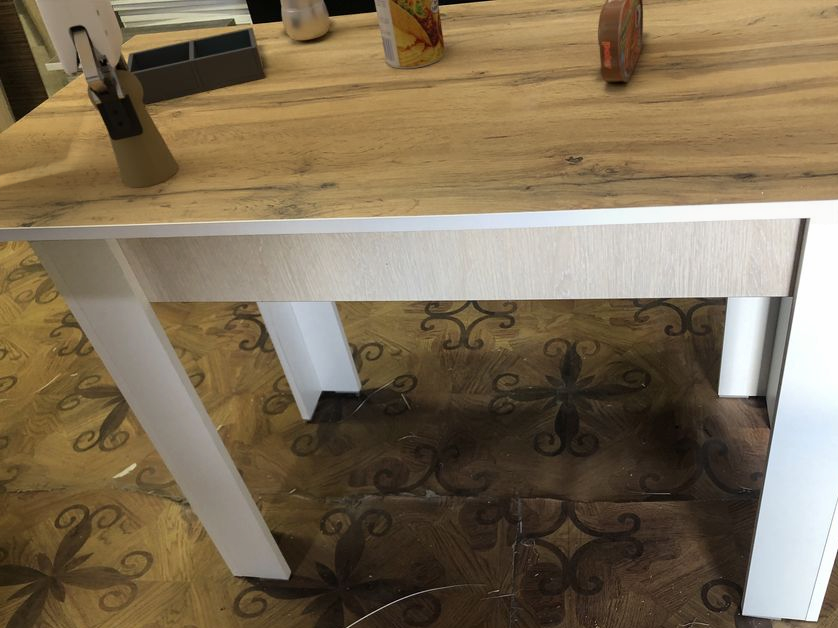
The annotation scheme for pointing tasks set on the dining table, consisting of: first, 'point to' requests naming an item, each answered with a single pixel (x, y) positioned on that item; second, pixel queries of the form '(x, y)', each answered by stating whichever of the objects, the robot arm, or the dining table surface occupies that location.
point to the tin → (620, 38)
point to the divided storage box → (197, 65)
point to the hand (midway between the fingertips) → (129, 123)
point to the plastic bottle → (305, 18)
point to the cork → (140, 142)
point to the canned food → (410, 32)
